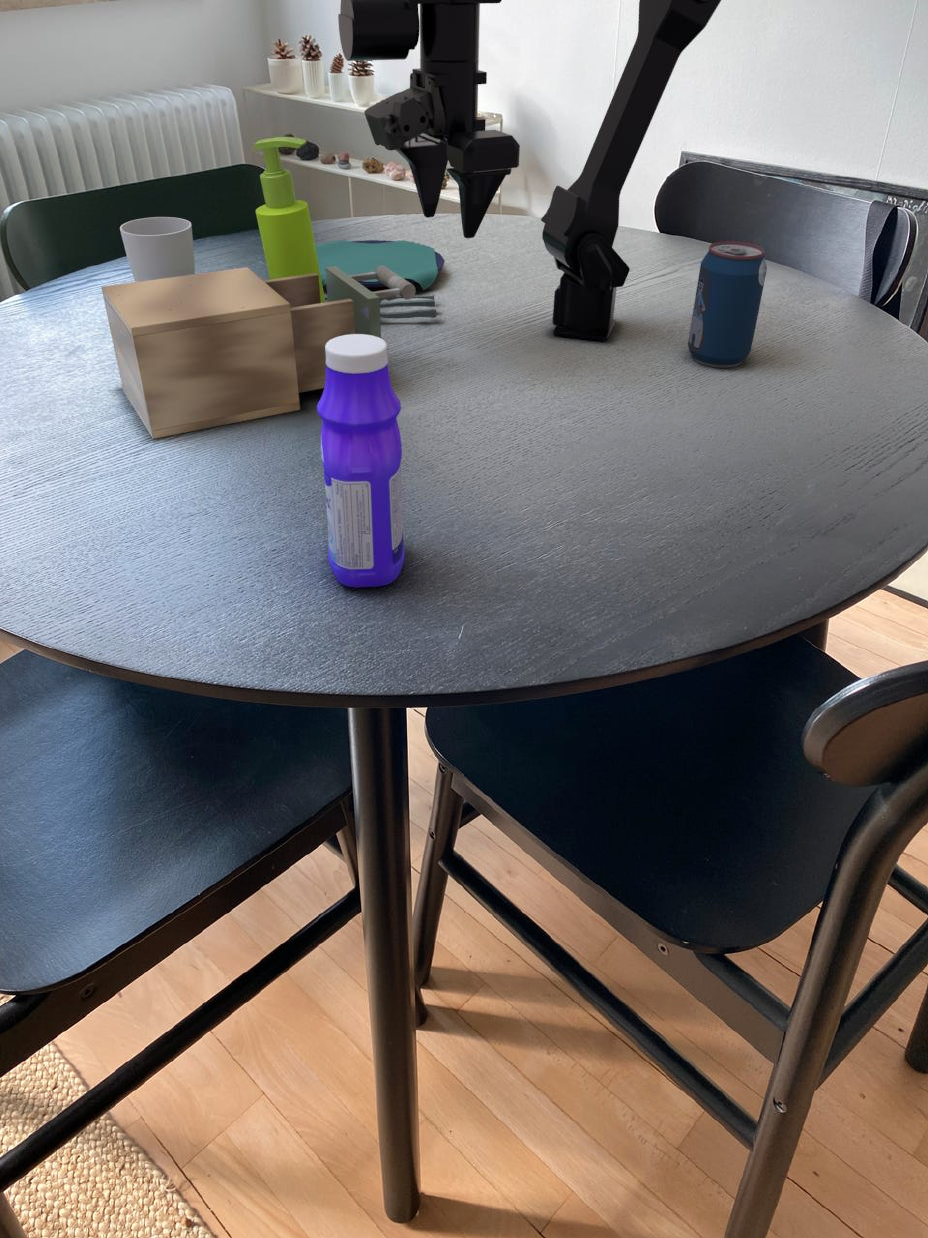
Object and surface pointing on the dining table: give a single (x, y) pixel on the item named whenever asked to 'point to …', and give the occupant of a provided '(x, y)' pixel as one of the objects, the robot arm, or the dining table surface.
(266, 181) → the soap dispenser
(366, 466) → the bottle
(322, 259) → the cutlery set
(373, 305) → the drawer with grey handle
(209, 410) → the wooden drawer box
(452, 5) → the robot arm
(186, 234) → the cup
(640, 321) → the dining table surface
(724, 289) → the soda can
